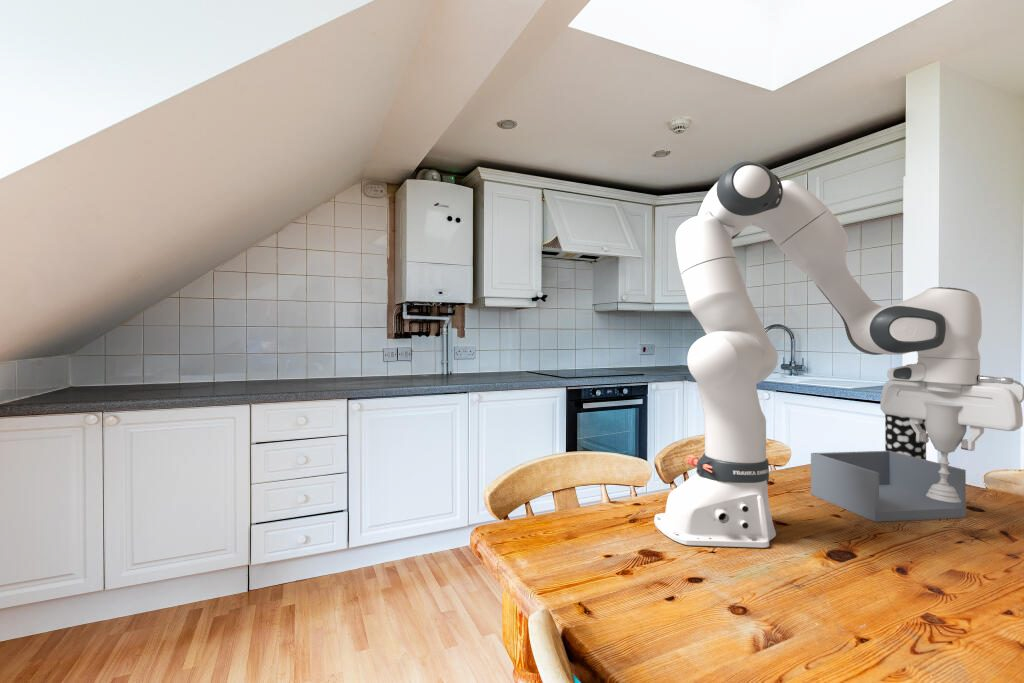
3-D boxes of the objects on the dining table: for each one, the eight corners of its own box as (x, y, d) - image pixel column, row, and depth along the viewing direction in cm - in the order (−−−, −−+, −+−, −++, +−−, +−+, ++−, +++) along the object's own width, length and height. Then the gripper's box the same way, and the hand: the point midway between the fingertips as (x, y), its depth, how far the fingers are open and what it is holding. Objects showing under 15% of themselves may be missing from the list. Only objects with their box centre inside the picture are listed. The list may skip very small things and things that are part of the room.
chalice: (958, 506, 87) (962, 407, 87) (912, 495, 93) (915, 402, 93) (974, 500, 91) (977, 405, 91) (928, 489, 97) (931, 400, 97)
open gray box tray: (874, 521, 99) (874, 473, 99) (810, 494, 117) (810, 453, 117) (965, 517, 101) (965, 469, 101) (889, 491, 119) (889, 450, 119)
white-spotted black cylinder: (935, 487, 122) (934, 408, 122) (901, 487, 122) (901, 408, 122) (908, 478, 131) (908, 404, 131) (877, 478, 131) (877, 404, 131)
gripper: (1031, 378, 84) (1027, 456, 85) (892, 368, 102) (889, 434, 102) (1019, 379, 81) (1015, 461, 81) (878, 369, 99) (875, 436, 99)
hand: (944, 445), depth 92 cm, fingers closed on chalice, 5 cm apart
